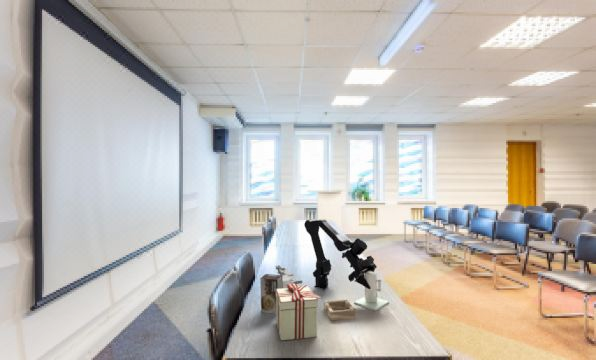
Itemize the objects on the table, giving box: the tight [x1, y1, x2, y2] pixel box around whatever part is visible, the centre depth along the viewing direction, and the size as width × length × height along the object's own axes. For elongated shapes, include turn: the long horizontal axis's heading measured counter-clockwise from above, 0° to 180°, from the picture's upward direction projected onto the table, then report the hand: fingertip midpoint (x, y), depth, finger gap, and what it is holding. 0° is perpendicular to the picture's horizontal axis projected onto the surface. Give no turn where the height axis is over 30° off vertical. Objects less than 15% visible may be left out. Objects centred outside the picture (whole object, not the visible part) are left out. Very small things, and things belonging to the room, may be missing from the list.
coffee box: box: [259, 273, 283, 314], centre depth 137 cm, size 9×6×16 cm
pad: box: [353, 295, 389, 312], centre depth 143 cm, size 12×12×1 cm
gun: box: [275, 265, 303, 284], centre depth 188 cm, size 36×4×10 cm
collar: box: [323, 299, 357, 321], centre depth 133 cm, size 11×11×4 cm
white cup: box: [282, 276, 292, 288], centre depth 152 cm, size 8×8×10 cm
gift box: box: [275, 283, 323, 341], centre depth 120 cm, size 17×18×17 cm
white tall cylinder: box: [364, 271, 382, 302], centre depth 142 cm, size 8×6×13 cm
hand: (373, 287), depth 142 cm, fingers closed on white tall cylinder, 6 cm apart
